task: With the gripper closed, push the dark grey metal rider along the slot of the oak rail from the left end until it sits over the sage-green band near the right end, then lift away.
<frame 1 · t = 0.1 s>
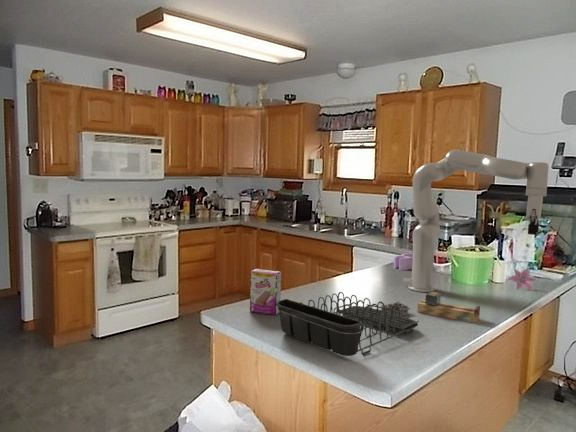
hand: (532, 233, 188), 31 cm above the counter, tool pointing down, fingers open, 9 cm apart
clip: (408, 267, 264), on the counter
dish rack: (351, 334, 154), on the counter
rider: (433, 299, 178), point 5 cm above the counter, slide at -6.0 cm
candy bar box: (265, 312, 175), on the counter
egg carton: (394, 314, 177), on the counter
rail: (447, 315, 176), on the counter
lily: (521, 289, 220), on the counter
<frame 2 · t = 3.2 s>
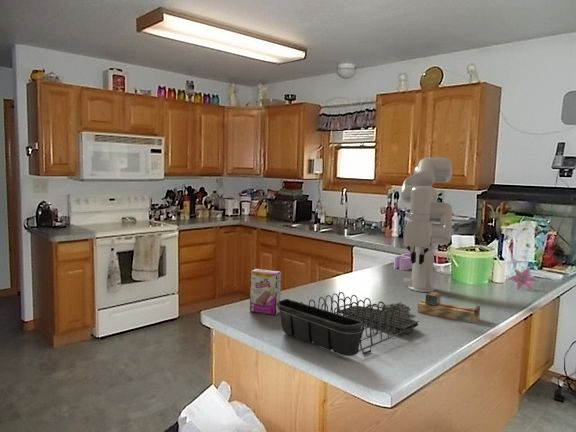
hand: (417, 263, 181), 19 cm above the counter, tool pointing down, fingers closed
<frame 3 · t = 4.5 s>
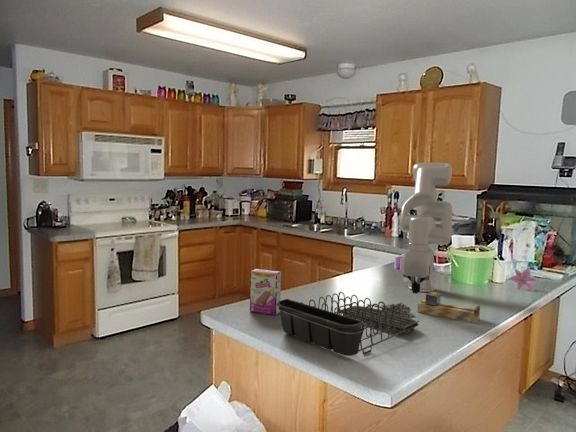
hand: (415, 292, 181), 7 cm above the counter, tool pointing down, fingers closed
nothing on the counter moved.
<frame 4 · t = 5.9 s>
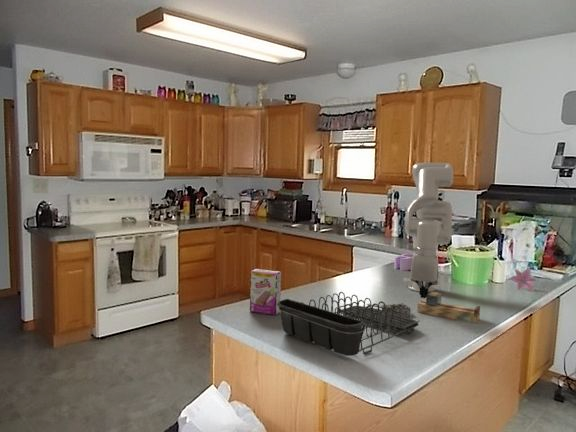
hand: (423, 297, 180), 6 cm above the counter, tool pointing down, fingers closed
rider: (433, 299, 178), point 5 cm above the counter, slide at -5.7 cm, touching gripper
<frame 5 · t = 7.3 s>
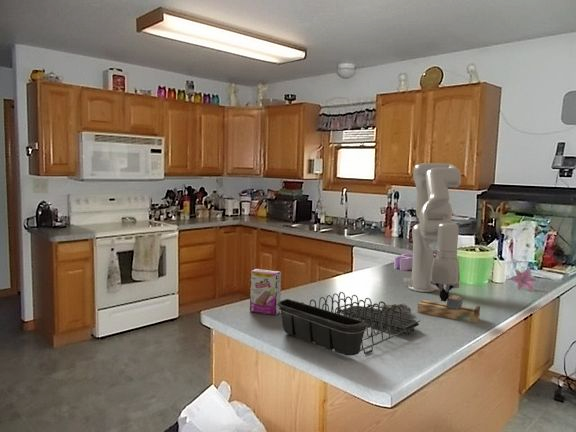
hand: (443, 300, 176), 6 cm above the counter, tool pointing down, fingers closed
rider: (454, 303, 174), point 5 cm above the counter, slide at 2.3 cm, touching gripper
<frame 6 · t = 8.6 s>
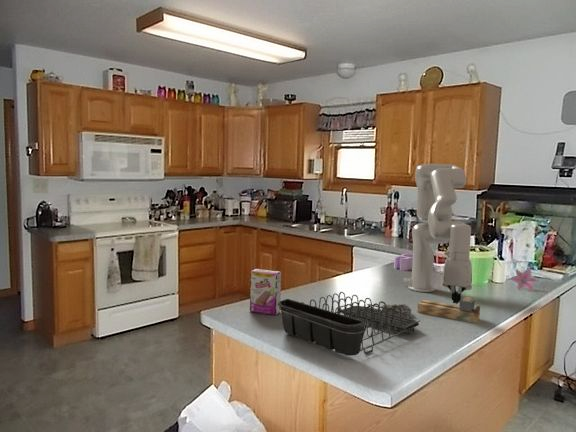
hand: (456, 302, 174), 6 cm above the counter, tool pointing down, fingers closed
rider: (467, 305, 171), point 5 cm above the counter, slide at 6.8 cm, touching gripper
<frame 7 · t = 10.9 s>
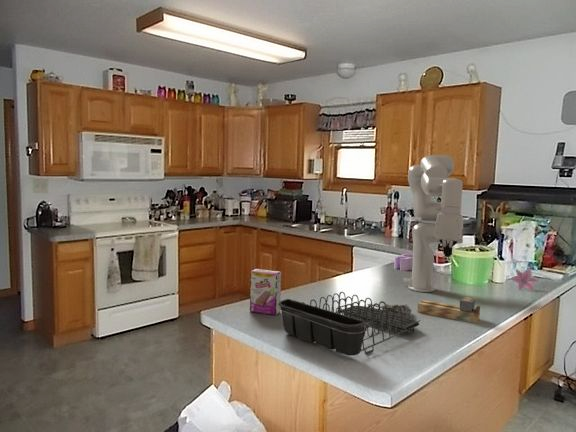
hand: (447, 256, 178), 23 cm above the counter, tool pointing down, fingers closed
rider: (467, 305, 171), point 5 cm above the counter, slide at 6.9 cm
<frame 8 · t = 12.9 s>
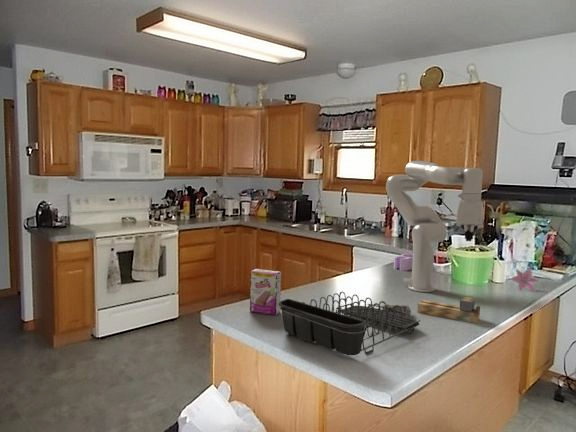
hand: (468, 240, 190), 27 cm above the counter, tool pointing down, fingers closed
at the end: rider slide at 6.9 cm; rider moved 12.9 cm from its start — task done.
